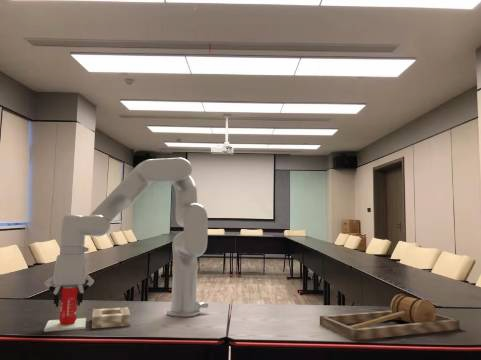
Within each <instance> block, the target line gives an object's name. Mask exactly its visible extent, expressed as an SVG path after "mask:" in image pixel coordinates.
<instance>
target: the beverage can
mask: <svg viewBox="0 0 481 360" xmlns="http://www.w3.org/2000/svg"><path fill="white" fill-rule="evenodd" d="M78 293H79V288H78V285H69V286H62V288H61V293H60V303H59V305H60V306H59V318H58V320H59V321H60V324H61V325H71V324H74V323H75V321H76V319H77V313H78Z"/></svg>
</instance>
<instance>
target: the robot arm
mask: <svg viewBox="0 0 481 360" xmlns="http://www.w3.org/2000/svg"><path fill="white" fill-rule="evenodd" d="M192 171H193V167H192V165H191V162H190V161H189V160H187V159H186V158H183V157H172V158H171V157H170V158H150V159H146V160H143V161H142V162H139V163H138V164H137V165H136V166H135V167H134V168H133V169H132V170H131V171H130V172H129V173H128V175H127V176H126V177H124V179H122V181H121V182H120V183H119V184H118V185H117V186H116V187H115V188H114V189H113V190H112V191H111V192H110V193H109V195H108V196H107V197H106V198H105V199H104V200H103V201H102V202H101V203H100V204H99V205H98V206H96V208H95V209H94V210H93V211H92V212H91V213H90V214H89V215H82V214H65V215H63V217H62V221H61V230H60V231H61V232H60V245H59V254H58V255H57V256H56V260H55V264H54V270H53V274H52V275H51V276H50V277H49V278H48V279H47V280H45V281H44V283H43V284H44V286H45V287H46V288H48V289H49V291H51V293H52V294H53V295H54V297H53V304H54V305H55V307H56V308H57V307H60V306H59V305H60V297H61V293H60V289H61V287H63V286H70V285H74V286H78V302H77V307H80V306H81V303H83V300H84V299H83V296H84V293H85V291H87V290H88V289H89V288H90V287H91V286H92V285H93V284H94V283H95V280H94V279H93V278H92V277H91V275H89V274H88V273H87V271H88V270H87V268H88V262H87V255H86V254H85V253H86V252H89V250H90V249H89V247H87V246H85V243H86V242H85V240H86V239H85V238H86V236H91V237H102V236H104V235H106V234H107V233H108V232H109V231H110V228H111V222H112V221H113V220H114V219H115V218H116V217H118V215H119V214H120V213H122V212H123V211H125V210H127V209H128V208H130V207H131V206H132V205H133V204H134V203H135V202H136V201H137V200H138V199H139V198H140V197H141V195H142V194H143V193H144V192H145V191H146V190H147V189H148V188H149V187H150V186H151V184H152V183H155V182H169V183H170V184H171V185H172V186H173V188H174V192H175V216H174V217H175V221H176V223H177V225H178V226H180V228H181V227H182V228H183V231H181V232H178V233H177V234H176V235H175V236H174V238H173V239H172V240H173V241H172V244H171V245H172V246H171V247H172V248H171V249H172V261H173V263H172V285H171V304H170V305H171V307H170V308H168V309H167V310H166V314H167V315H168V316H171V317H174V318H175V317H176V318H190V317H195V316H198V315H200V313H201V309H207V308H209V302H203V301H202V302H201V301H200V302H199V301H198V300H197V294H198V293H197V292H198V291H197V290H198V289H197V288H198V284H197V283H198V258H199V257H200V256H202V255H203V254H204V253H205V252H206V250H207V248H208V242H209V241H208V238H209V237H208V236H209V235H208V234H209V231H208V228H209V225H208V224H209V222H208V218H209V217H208V214H207V213H208V212H207V210H206V209H205V207H204V206H203V205H202V204H200V203H198V191H197V190H198V189H197V185H196V182H195V180H193V177H192V176H191V175H192ZM52 281H53V283H51V282H52ZM86 281H88V282H87V283H86ZM85 283H86V284H85ZM52 284H53V285H52ZM84 284H85V285H84Z"/></svg>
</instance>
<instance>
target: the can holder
mask: <svg viewBox="0 0 481 360" xmlns="http://www.w3.org/2000/svg"><path fill="white" fill-rule="evenodd" d="M91 314H92V318H91V329H101V328H103V329H104V328H113V327H126V326H131V315H132V314H131V312H130V309H129V307H128V306H126V307H112V308H111V307H110V308H109V307H108V308H107V307H106V308H93V309H92V313H91Z"/></svg>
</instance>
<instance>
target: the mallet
mask: <svg viewBox="0 0 481 360" xmlns="http://www.w3.org/2000/svg"><path fill="white" fill-rule="evenodd" d="M390 311H391V313H392V314H391V315H387V316H384V317H380V318H377V319H374V320H371V321H367V322H361V323H355V324H353V325H348V326H349V327H352V328H354V329H358V328H369V327H370V326H373V325H374V326H375V325H377V324H380V323H383V322H386V321H391V320H390V319H394V318H395V320H396V321H399V322H404V323H407V324H411V323H422V322H432V321H435V318H436V314H437V312H436V307H435V305H434V303H433V302H432V301H430V300H429V299H427V298H424V299H422V298H414V297H412V296H409V295H408V296H407V295H406V294H403V293H400V294H395V296H394V297H393V298H392V300H391V302H390Z"/></svg>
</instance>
